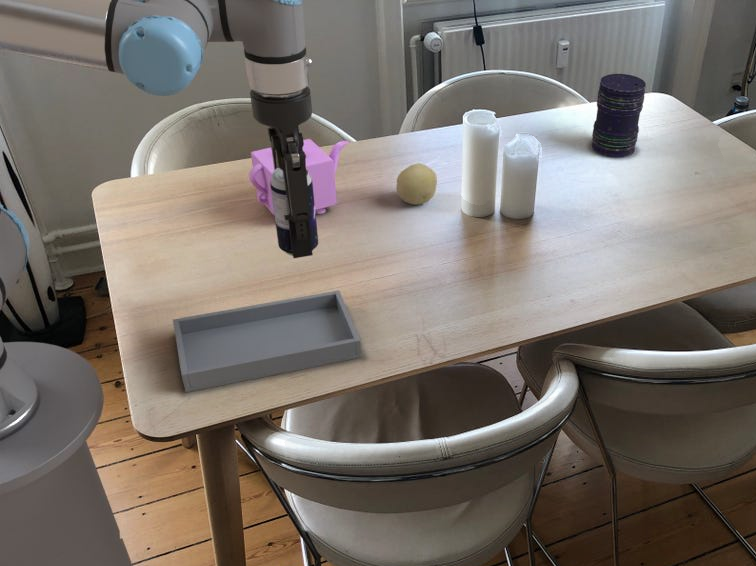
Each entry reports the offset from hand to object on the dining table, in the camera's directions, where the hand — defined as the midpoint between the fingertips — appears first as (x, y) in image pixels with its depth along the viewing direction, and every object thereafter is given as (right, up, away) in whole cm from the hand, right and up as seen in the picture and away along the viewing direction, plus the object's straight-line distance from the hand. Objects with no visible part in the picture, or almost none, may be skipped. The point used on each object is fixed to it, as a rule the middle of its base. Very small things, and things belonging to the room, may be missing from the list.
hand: (298, 243), depth 120 cm
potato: (+14, +14, +43) cm, 47 cm away
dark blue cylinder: (+56, +30, +65) cm, 91 cm away
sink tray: (-6, -15, +7) cm, 17 cm away
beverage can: (0, -1, +1) cm, 1 cm away
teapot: (-7, +13, +40) cm, 43 cm away
